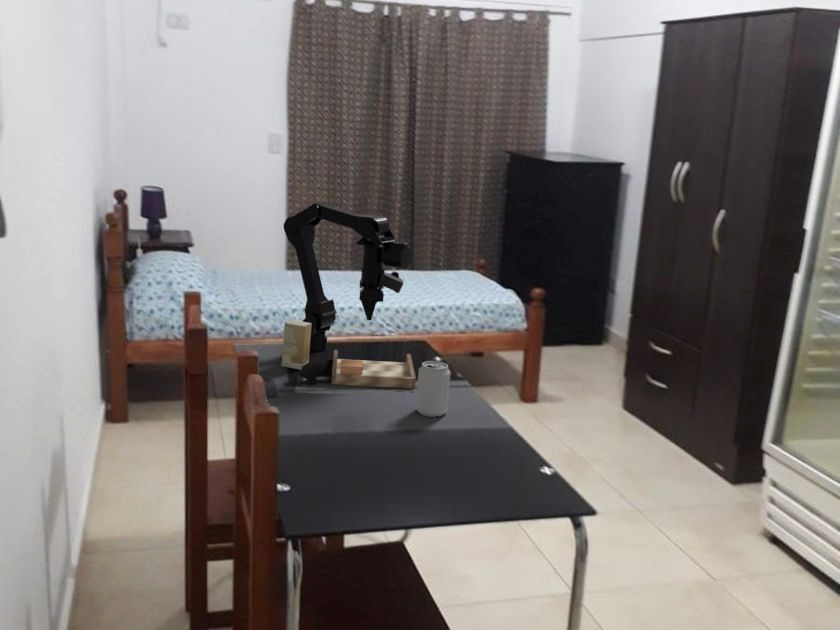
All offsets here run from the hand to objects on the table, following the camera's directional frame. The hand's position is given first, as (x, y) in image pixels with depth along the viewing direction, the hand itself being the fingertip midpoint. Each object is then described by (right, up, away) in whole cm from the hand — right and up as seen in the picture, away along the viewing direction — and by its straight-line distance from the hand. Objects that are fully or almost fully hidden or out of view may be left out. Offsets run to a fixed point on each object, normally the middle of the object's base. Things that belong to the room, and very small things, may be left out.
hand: (369, 320), depth 232 cm
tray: (+1, -15, -7) cm, 16 cm away
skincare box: (-20, -13, -2) cm, 23 cm away
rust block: (-4, -15, -14) cm, 21 cm away
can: (+16, -22, -30) cm, 40 cm away
